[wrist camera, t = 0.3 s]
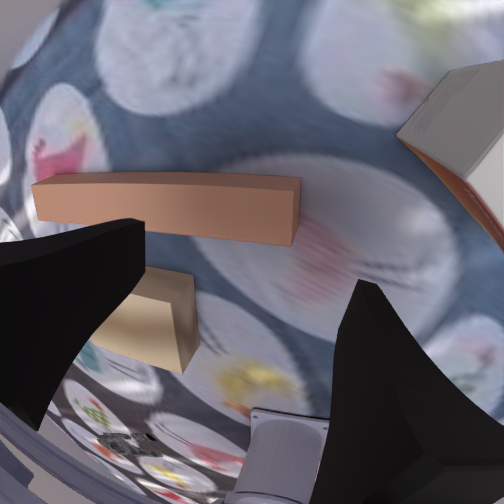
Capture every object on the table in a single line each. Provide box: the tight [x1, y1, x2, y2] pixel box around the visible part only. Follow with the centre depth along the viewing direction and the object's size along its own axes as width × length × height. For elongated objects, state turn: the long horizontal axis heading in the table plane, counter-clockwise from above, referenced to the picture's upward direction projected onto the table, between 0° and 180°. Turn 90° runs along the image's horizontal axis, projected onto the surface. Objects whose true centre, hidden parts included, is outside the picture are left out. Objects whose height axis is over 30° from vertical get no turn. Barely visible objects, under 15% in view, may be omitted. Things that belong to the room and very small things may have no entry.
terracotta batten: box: [31, 172, 301, 246], centre depth 20 cm, size 3×20×3 cm, turn 90°
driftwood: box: [97, 433, 166, 457], centre depth 44 cm, size 21×7×2 cm, turn 123°
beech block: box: [91, 266, 200, 374], centre depth 24 cm, size 7×9×4 cm
